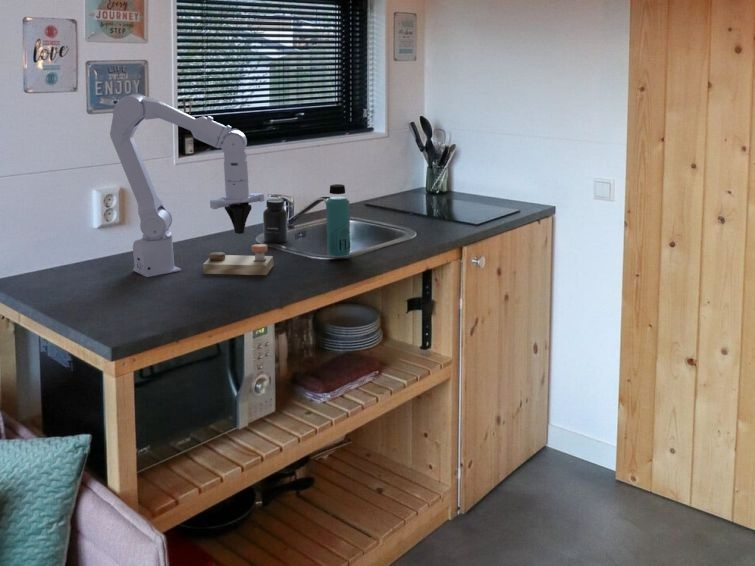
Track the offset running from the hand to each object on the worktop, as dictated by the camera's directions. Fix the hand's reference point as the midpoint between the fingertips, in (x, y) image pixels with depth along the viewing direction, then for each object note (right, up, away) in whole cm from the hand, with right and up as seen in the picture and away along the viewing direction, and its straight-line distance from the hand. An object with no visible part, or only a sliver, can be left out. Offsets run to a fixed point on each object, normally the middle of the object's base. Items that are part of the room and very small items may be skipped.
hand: (239, 233), depth 216 cm
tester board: (-1, -9, +3) cm, 10 cm away
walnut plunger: (-6, -9, +3) cm, 11 cm away
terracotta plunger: (+5, -7, +2) cm, 8 cm away
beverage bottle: (+24, -6, +13) cm, 28 cm away
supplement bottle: (+5, -1, +32) cm, 32 cm away
